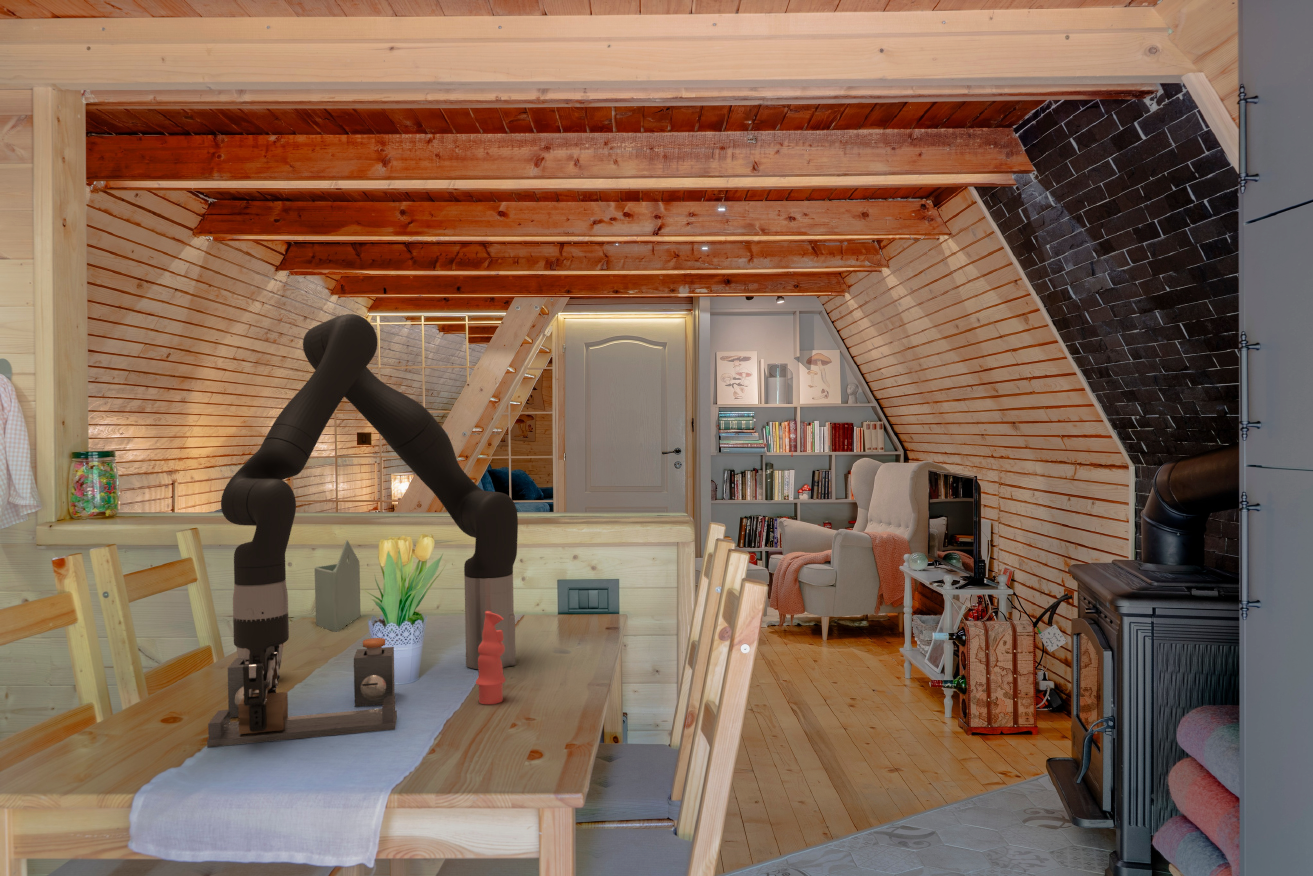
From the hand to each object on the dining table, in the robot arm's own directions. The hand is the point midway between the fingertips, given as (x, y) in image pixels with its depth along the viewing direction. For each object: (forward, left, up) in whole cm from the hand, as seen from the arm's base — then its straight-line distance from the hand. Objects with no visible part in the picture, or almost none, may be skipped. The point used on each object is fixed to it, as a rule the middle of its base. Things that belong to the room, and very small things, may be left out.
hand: (263, 722), depth 130 cm
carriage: (0, 0, -1) cm, 1 cm away
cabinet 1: (+4, -13, -2) cm, 14 cm away
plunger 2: (-15, -13, +4) cm, 20 cm away
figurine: (-34, -7, -2) cm, 35 cm away
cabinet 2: (-15, -13, -2) cm, 20 cm away
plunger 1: (+4, -13, +6) cm, 15 cm away
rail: (-6, 0, -2) cm, 6 cm away
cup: (+6, -30, -2) cm, 31 cm away
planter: (-1, -76, -2) cm, 76 cm away
